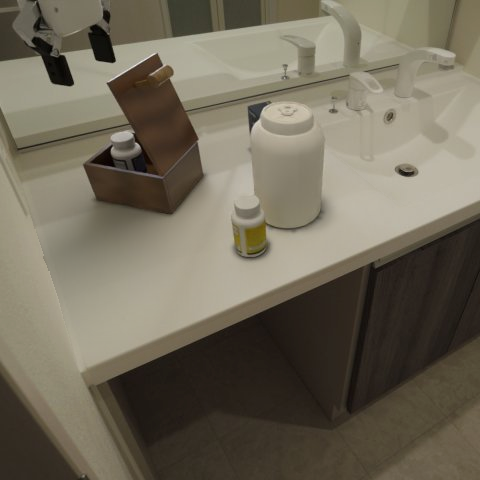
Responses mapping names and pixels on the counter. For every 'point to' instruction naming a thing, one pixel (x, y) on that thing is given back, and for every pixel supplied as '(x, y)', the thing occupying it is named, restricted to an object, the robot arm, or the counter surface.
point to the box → (255, 113)
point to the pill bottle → (127, 152)
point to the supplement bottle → (249, 226)
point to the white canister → (288, 164)
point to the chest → (143, 180)
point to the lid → (154, 111)
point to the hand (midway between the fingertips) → (86, 72)
